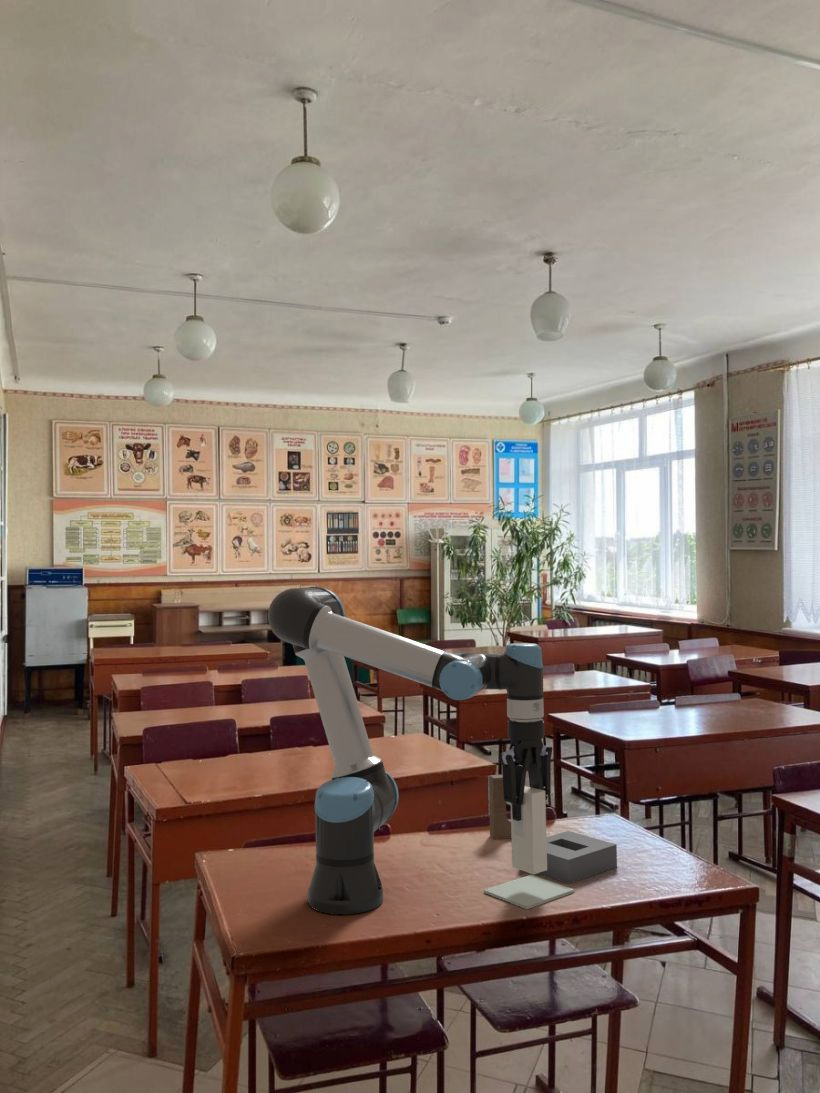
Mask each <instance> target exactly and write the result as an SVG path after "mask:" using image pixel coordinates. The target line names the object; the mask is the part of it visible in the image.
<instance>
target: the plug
mask: <svg viewBox="0 0 820 1093" xmlns="http://www.w3.org/2000/svg"><path fill="white" fill-rule="evenodd" d="M516 798H517V797H516ZM523 804H525V805H526V833H527V837H525V838H523V837H520V836H517V835H514V820H513V818H512V804H511V803H510V819H511V837H512V838H511V867H512V868H514V869H516V870H520V871H522V872H525V873H529V874H530V875H537V874H538V873H540V872H543V871H546V870H547V840H546V837H547V813H546V812H547V806H546V800H545V791H544V790H540V789H536V788H531V786H526V785H525V787H524V796H523Z"/></svg>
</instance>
